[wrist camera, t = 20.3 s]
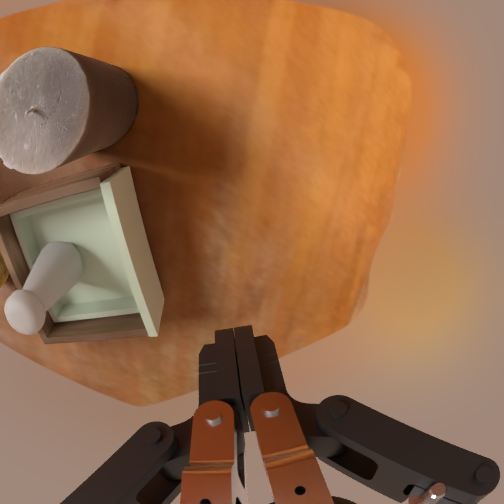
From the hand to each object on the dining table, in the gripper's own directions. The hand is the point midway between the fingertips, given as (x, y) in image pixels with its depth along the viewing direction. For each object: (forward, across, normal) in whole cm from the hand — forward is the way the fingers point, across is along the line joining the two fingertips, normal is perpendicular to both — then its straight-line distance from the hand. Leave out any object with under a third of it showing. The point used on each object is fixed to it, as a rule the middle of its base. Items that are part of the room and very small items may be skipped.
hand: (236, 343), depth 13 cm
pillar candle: (+25, +12, -12) cm, 30 cm away
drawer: (+24, +17, +4) cm, 29 cm away
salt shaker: (+23, +20, +4) cm, 30 cm away
